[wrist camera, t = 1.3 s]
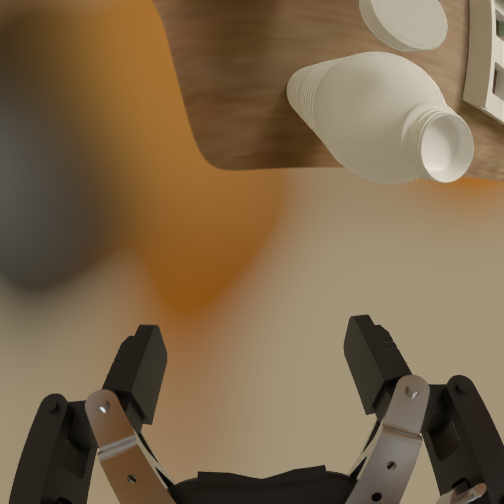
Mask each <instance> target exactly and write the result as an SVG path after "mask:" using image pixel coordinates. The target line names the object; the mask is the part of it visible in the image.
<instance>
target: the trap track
mask: <svg viewBox="0 0 504 504" xmlns="http://www.w3.org/2000/svg"><path fill="white" fill-rule="evenodd" d="M469 6H470V34H469V52H468V64H467V73H466V80H465V87H464V94H463V99H462V100H463V101H465V102H467V103H469V104H470V105H472V106H474V107H476V108H477V109H479V110H481V111H482V112H484V113H485V114H487V115H489V116H490V117H492V118H493V119H495V120H496V121H498V122H499V123H501V124H502V125H504V0H469ZM496 20H497V21H498V22H499V37H498V36H497V35H496ZM494 69H495V70H497V77H496V86H495V93H494V94H493V93H492V87H493V78H494Z"/></svg>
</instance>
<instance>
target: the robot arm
mask: <svg viewBox="0 0 504 504" xmlns="http://www.w3.org/2000/svg"><path fill="white" fill-rule="evenodd" d="M344 354H345V357H346V360H347V363H348V365H349V368H350V371H351V374H352V376H353V379H354V382H355V384H356V387H357V390H358V393H359V395H360V398H361V401H362V404H363V407H364V410H365V413H366V415H369V414H373V413H375V414H376V416H377V419H376V421H375V423H374V425H373V428H372V430H371V432H370V434H369V436H368V439H367V441H366V443H365V445H364V447H363V449H362V451H361V453H360V455H359V457H358V459H357V460H356V462H355V463H354V465H353V466H352V468H351V470H350V471H349V473H348V475H345V474H342V473H338V472H331V471H326V468H325V465H322V466H316V467H309V468H302V469H294V470H291V471H288V472H285V473H282V474H279V475H275V476H272V477H268V478H264V479H258V478H252V477H247V476H242V475H237V474H233V473H220V472H198V477H197V478H192V479H188V480H185V481H182V482H180V483H178V484H176V483H175V482H174V481H173V479H172V478H171V477H170V475H169V474H168V473H167V471H166V470H165V469H164V468H163V466H162V465H161V463H160V462H159V460H158V459H157V457H156V456H155V454H154V452H153V451H152V449H151V447H150V446H149V444H148V442H147V440H146V439H145V437H144V435H143V434H142V432H141V429H142V424H149V425H152V421H153V417H154V413H155V408H156V404H157V400H158V396H159V392H160V388H161V384H162V379H163V376H164V372H165V368H166V364H167V351H166V348H165V345H164V342H163V338H162V335H161V332H160V329H159V327H158V326H157V325H145V324H141V325H139V327H138V329H137V331H136V334H135V336H129V337H128V338H127V339H126V340H125V341H124V342H123V343H122V344H121V346H120V348H119V350H118V354H117V355H116V357H115V359H114V362H113V364H112V366H111V368H110V371H109V373H108V375H107V378H106V380H105V383H104V385H103V387H102V389H101V390H97V391H95V392H93V393H92V394H90V395H89V397H88V398H87V400H85V401H76V402H68V401H67V400H66V399H65V398H64V397H63V396H62V395H61V394H51V395H48V396H47V397H45V398H44V399H43V401H42V402H41V404H40V406H39V409H38V411H37V414H36V416H35V419H34V421H33V424H32V426H31V429H30V432H29V434H28V437H27V440H26V443H25V446H24V449H23V452H22V455H21V458H20V461H19V464H18V468H17V471H16V475H15V479H14V482H13V486H12V490H11V495H10V500H9V504H86V503H87V497H88V491H89V486H90V480H91V475H92V469H93V465H94V460H95V456H96V451H97V448H100V452H99V453H98V458H99V461H100V463H101V466H102V468H103V470H104V472H105V474H106V476H107V479H108V481H109V483H110V485H111V487H112V489H113V491H114V493H115V495H116V496H117V498H118V500H119V502H120V504H399V503H400V500H401V498H402V496H403V494H404V491H405V489H406V487H407V484H408V482H409V479H410V476H411V474H412V471H413V469H414V466H415V463H416V460H417V457H418V454H419V451H420V448H421V444H422V437H421V436H419V434H420V433H422V436H423V439H424V442H425V445H426V448H427V451H428V454H429V457H430V461H431V464H432V467H433V471H434V474H435V478H436V481H437V485H438V488H439V492H440V496H441V497H440V498H439V499H438V501H437V503H436V504H504V445H503V443H502V441H501V438H500V436H499V434H498V431H497V430H496V427H495V425H494V423H493V421H492V418H491V417H490V414H489V412H488V410H487V409H486V406H485V404H484V402H483V400H482V399H481V397H480V395H479V393H478V391H477V389H476V387H475V386H474V384H473V382H472V381H471V380H470V379H469V378H467V377H465V376H462V375H456V376H453V377H452V378H450V380H449V381H448V383H447V384H445V385H443V384H442V385H430V384H427V382H426V381H425V380H424V379H423V378H421V377H419V376H416V375H412V373H411V371H410V369H409V367H408V366H407V364H406V362H405V360H404V359H403V357H402V355H401V353H400V351H399V350H398V349H397V346H396V344H395V343H394V342H393V339H392V337H391V336H390V334H389V332H388V331H387V330H385V329H384V328H383V327H382V326H381V325H374V323H373V322H372V320H371V318H370V316H369V315H359V316H351V317H350V319H349V323H348V327H347V332H346V336H345V340H344ZM452 422H453V423H452ZM454 427H455V428H454ZM456 432H457V433H456ZM458 437H459V438H458Z"/></svg>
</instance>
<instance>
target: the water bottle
mask: <svg viewBox="0 0 504 504" xmlns="http://www.w3.org/2000/svg"><path fill="white" fill-rule="evenodd" d="M359 10H360V13H361V16H362V19H363V21H364V23H365V24H366V26H367V27H368V29H369V30H370V31H371V32H372V33H373V35H374V36H376V37H377V38H378V39H379V40H380V41H382V42H383V43H384V44H386V45H388V46H389V47H391V48H394V49H396V50H400V51H404V52H419V51H430V50H434V49H436V48H438V47H439V46H440V45H441V44H442V43H443V42H444V40H445V38H446V35H447V19H446V15H445V12H444V10H443V8H442V6H441V4H440V3H439V1H438V0H359ZM287 98H288V101H289V103H290V105H291V107H292V108H293V109H294V110H295V112H296V113H297V114H298V115H299V116H300V117H301V118H302V119H303V120H304V121H305V123H306V124H307V125H308V126H309V127H310V129H311V130H313V131H314V132H315V134H316V135H317V136H318V137H319V138H320V139H321V141H322V142H323V143H324V144H325V145H326V147H327V148H328V150H329V151H330V152H331V154H332V155H333V157H334V158H335V159H336V160H337V161H338V162H339V163H340V164H341V165H343V166H344V167H345V168H346V169H348V170H349V171H350V172H352V173H354V174H355V175H357V176H359V177H361V178H363V179H366V180H368V181H372V182H375V183H380V184H389V185H391V184H393V185H395V184H403V183H407V182H410V181H413V180H416V179H418V178H420V177H422V178H424V179H428V180H435V181H438V182H443V183H448V182H452V181H455V180H457V179H458V178H460V177H461V176H462V175H463V174H464V173H465V172H466V171H467V169H468V168H469V166H470V164H471V161H472V158H473V152H474V142H473V137H472V133H471V131H470V129H469V127H468V125H467V124H466V122H465V121H464V120H463V119H462V118H461V117H460V116H459V115H457V114H456V113H455V112H454V111H453V110H452V109H451V108H450V107H449V106H447V105H446V103H445V100H444V98H443V95H442V93H441V91H440V89H439V87H438V86H437V84H436V83H435V82H434V81H433V79H432V78H431V77H430V76H429V75H428V74H427V73H426V72H425V71H424V70H423V69H421V68H420V67H419V66H417V65H416V64H414V63H413V62H411V61H409V60H407V59H405V58H403V57H401V56H398V55H395V54H392V53H387V52H378V51H372V52H363V53H358V54H354V55H351V56H347V57H343V58H338V59H334V60H329V61H324V62H321V63H317V64H314V65H311V66H307V67H304V68H301V69H299V70H298V71H296V72H295V73H294V74H293V75H292V76H291V78H290V79H289V81H288V84H287Z"/></svg>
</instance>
